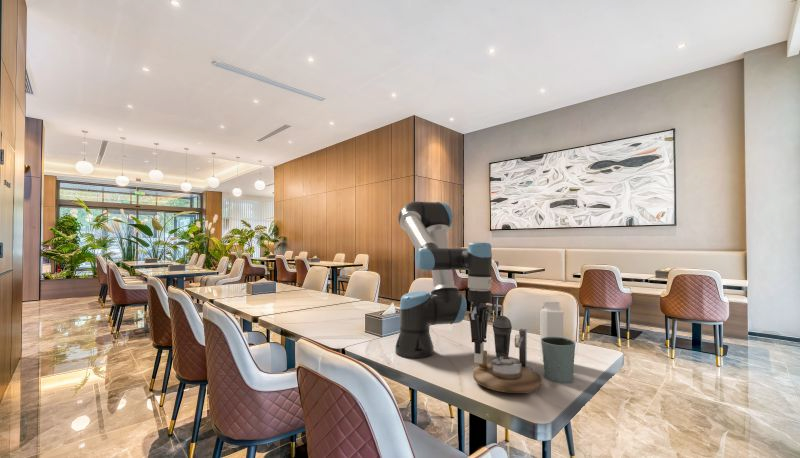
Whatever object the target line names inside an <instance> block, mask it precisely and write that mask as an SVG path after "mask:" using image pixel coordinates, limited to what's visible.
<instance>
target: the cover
mask: <svg viewBox="0 0 800 458" xmlns="http://www.w3.org/2000/svg"><path fill="white" fill-rule="evenodd" d="M491 374H492V375H493V376H494V377H496V378H499V379H503V380H518V379H520V378H521V377H522V364H521V363H520V362H519V361H518V360H515V359H514V357H511V356H509V355H508V356H501V357H500V358H495V359H492V360H491Z"/></svg>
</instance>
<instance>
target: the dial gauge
mask: <svg viewBox="0 0 800 458" xmlns="http://www.w3.org/2000/svg"><path fill="white" fill-rule="evenodd" d="M527 330H528V329H526V328H525V329H524V328H520V329H519V330H518V331H519V332H518V334H515V336H514V348H517V349H518V351H519V352H518V354H519V355H518V357H519V358H518V359H519V361H518V362H520V363H521V364H522V367H525V368H528V369H530V370H533V367H531V366H527V365H528V364H527V361H528V360H527V359H528V358H527V357H528V356H527V355H528V354H527V353H528V352H527V351H528V349H527V348H528V347H527V345H528V343H527V342H528V341H527V340H528V339H527V336H528V335H527V334H528V333H527Z"/></svg>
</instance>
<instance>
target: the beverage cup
mask: <svg viewBox="0 0 800 458" xmlns="http://www.w3.org/2000/svg"><path fill="white" fill-rule="evenodd" d="M492 322H493V323H492V325H491V326H492V329H493V330H492V331H493V339H494V348H495V357H496V359H498V358H500V357H501V356H508V357H509V356H510V346H511V345H510V344H511V334H512V329H513V326H512V322H511V320H510V318H508V317H507V316H505V315H504V304H502V305H501V315H498V316H496V317H495V318H494V320H493V321H492Z"/></svg>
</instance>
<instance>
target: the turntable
mask: <svg viewBox="0 0 800 458" xmlns="http://www.w3.org/2000/svg"><path fill="white" fill-rule="evenodd" d="M473 379H474V381H475V382H476V383H478V384H479V385H480V386H482V387H484V388H487V389H489V390H493V391H497V392H502V393H509V394H526V393H532V392H535V391H538V390H539V389H540V388H541V386H542V377H541V375H540V374H539V373H538V372H536V371H535V370H533V369H532V370H530V369H528V368H525V367H522V377H521V378H520V379H518V380H503V379H499V378H496V377H494V376H493V375H492V374H491V363H489V362H488V350H486V349H485V350H484V363H483V364H479V363H478V366H475V368H474V369H473Z"/></svg>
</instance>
